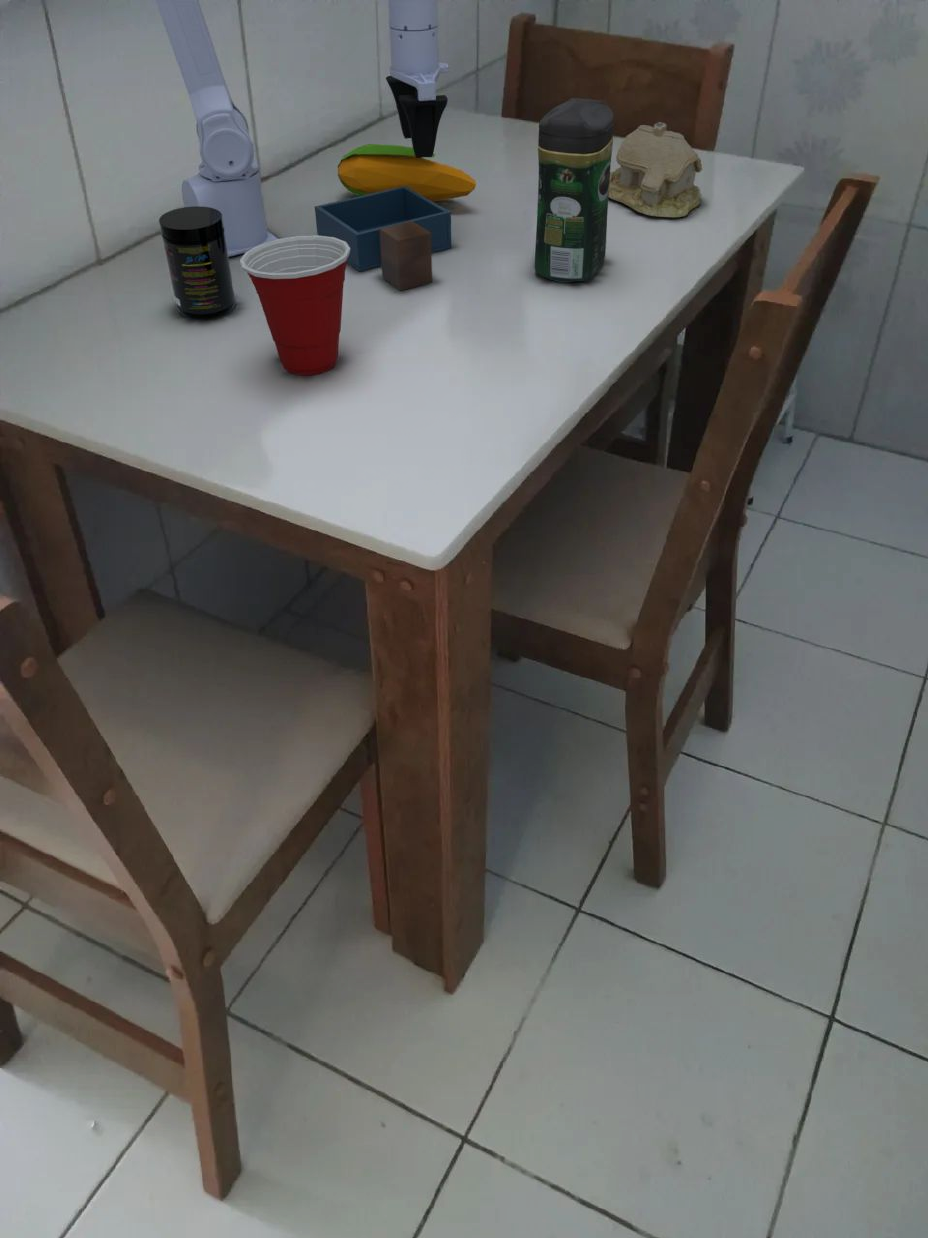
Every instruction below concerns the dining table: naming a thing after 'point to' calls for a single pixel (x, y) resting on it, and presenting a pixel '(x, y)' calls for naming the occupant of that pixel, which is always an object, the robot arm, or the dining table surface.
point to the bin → (381, 222)
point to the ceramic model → (656, 173)
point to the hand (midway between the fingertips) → (418, 146)
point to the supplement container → (198, 261)
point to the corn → (401, 173)
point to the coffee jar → (573, 189)
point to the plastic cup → (301, 297)
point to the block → (406, 255)
